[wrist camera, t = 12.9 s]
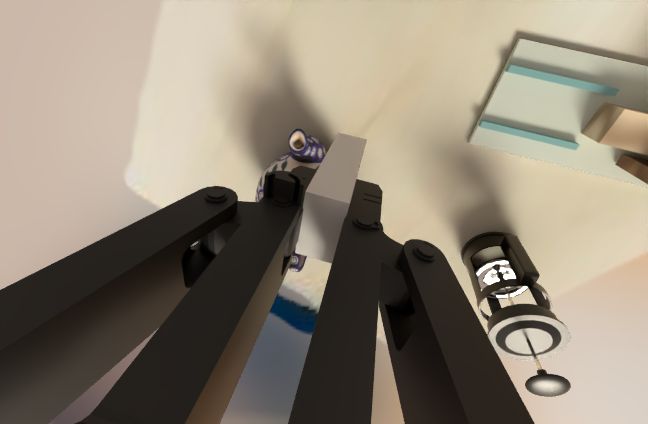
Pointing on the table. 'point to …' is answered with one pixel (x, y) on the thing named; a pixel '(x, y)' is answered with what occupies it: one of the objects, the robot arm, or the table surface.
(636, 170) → the block
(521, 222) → the table surface
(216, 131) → the table surface
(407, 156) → the table surface
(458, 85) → the table surface
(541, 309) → the french press
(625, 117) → the light wood bar
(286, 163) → the teapot
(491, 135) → the railed board with endplate
